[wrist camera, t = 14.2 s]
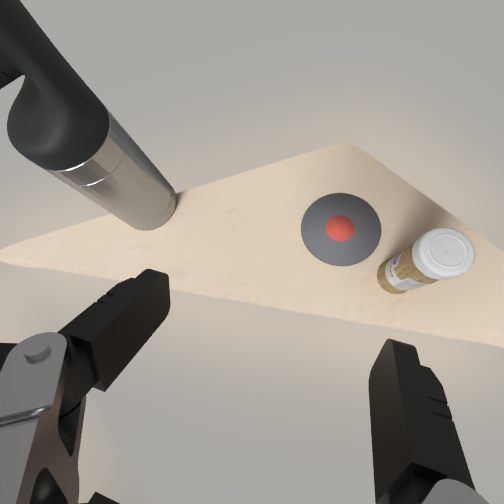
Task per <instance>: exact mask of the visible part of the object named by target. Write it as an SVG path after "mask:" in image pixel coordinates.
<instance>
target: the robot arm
mask: <svg viewBox="0 0 504 504" xmlns="http://www.w3.org/2000/svg"><path fill="white" fill-rule="evenodd" d="M21 75H25V79H24V83H23V85H22V88H21V90H20V92H19V94H18V95H17V97H16V99H15V101H14V103H13V105H12V107H11V110H10V112H9V115H8V121H7V132H8V136H9V139H10V141H11V143H12V145H13V146H14V147H15V148H16V150H18V152H19V153H21V154H22V155H23V156H25V157H26V158H27V159H29V160H30V161H32V162H34V163H35V164H37V165H38V166H40V167H41V168H43V169H44V170H46V171H47V172H49V173H51V174H52V175H54V176H55V177H57V178H58V179H60V180H61V181H63V182H64V183H66V184H68V185H69V186H71V187H72V188H74V189H75V190H77V191H78V192H80V193H81V194H83V195H84V196H86V197H88V198H89V199H91V200H92V201H94V202H95V203H97V204H98V205H100V206H101V207H103V208H104V209H106V210H107V211H109V212H110V213H112V214H113V215H115V216H116V217H118V218H119V219H121V220H122V221H124V222H126V223H127V224H129V225H130V226H132V227H134V228H135V229H138V230H153V229H155V228H158V227H160V226H161V225H163V224H164V223H165V222H166V221H168V220H169V218H170V217H171V216H172V214H173V212H174V210H175V206H176V194H175V191H174V189H173V188H172V186H171V185H170V184H169V183H168V182H167V180H166V179H165V178H164V177H163V175H162V174H161V173H160V172H159V170H157V168H156V167H155V166H154V165H153V163H152V162H151V161H150V160H149V159H148V157H147V156H146V155H145V154H144V152H143V151H142V150H141V149H140V148H139V146H138V145H137V144H136V143H135V142H134V140H133V139H132V138H131V137H130V136H129V135H128V133H127V132H126V131H125V130H124V128H123V127H122V126H121V125H120V124H119V123H118V122H117V120H116V119H115V118H114V117H113V116H112V114H111V113H110V112H109V111H108V109H107V108H106V107H105V106H104V105H103V103H102V102H101V101H100V100H99V99H98V98H97V96H96V95H95V94H94V93H93V92H92V91H91V89H89V87H88V86H87V85H86V84H85V82H84V81H83V80H82V79H81V78H80V77H79V75H78V74H77V73H76V72H75V71H74V69H73V68H72V67H71V66H70V65H69V63H68V62H67V61H66V60H65V58H64V57H63V56H62V55H61V54H60V52H59V51H58V50H57V49H56V48H55V46H54V45H53V43H52V42H51V41H50V40H49V38H48V37H47V36H46V34H45V33H44V32H43V31H42V29H41V28H40V27H39V25H38V24H37V23H36V21H35V20H34V19H33V17H32V16H31V15H30V13H29V12H28V11H27V9H26V8H25V7H24V6H23V4H22V3H21V1H20V0H0V89H1V88H3V87H4V86H6V85H7V84H9V83H11V82H12V81H14V80H15V79H17V78H18V77H20V76H21ZM169 291H170V290H169V277H168V275H167V274H166V273H162V272H159V271H155V270H152V269H146V270H144V271H143V272H142V273H141V274H140V275H138V276H137V277H136V278H135V279H134V278H129V279H127V280H125V281H123V282H121V283H118V284H117V285H115V286H114V287H113V288H112V289H110V290H109V291H108V292H107V293H106V295H103V296H102V297H101V298H99V299H98V300H97V302H94V303H93V304H92V305H91V306H89V307H88V308H87V309H86V310H84V311H83V312H82V313H81V314H80V315H78V316H77V317H76V318H75V319H73V320H72V321H71V322H70V323H68V324H67V325H66V326H65V327H63V328H62V329H61V330H60V331H59V332H57V333H54V332H48V333H41V334H37V335H34V336H32V337H29V338H27V339H25V340H23V341H22V342H20V343H19V344H17V343H16V344H15V343H0V504H78V499H79V473H78V456H79V449H80V442H81V434H82V427H83V420H84V412H85V405H86V394H87V393H88V392H89V391H90V389H91V388H92V387H94V388H97V389H99V390H101V391H104V392H105V391H106V390H107V389H108V387H109V386H110V385H111V384H112V383H113V381H114V380H115V379H116V378H117V377H118V375H119V374H120V373H121V372H122V371H123V369H124V368H125V367H126V366H127V365H128V363H129V362H130V361H131V360H132V358H133V357H134V356H135V355H136V354H137V352H138V351H139V350H140V349H141V347H142V346H143V345H144V344H145V343H146V342H147V340H148V339H149V338H150V337H151V336H152V334H153V333H154V332H155V331H156V329H157V328H158V327H159V326H160V325H161V323H162V322H163V321H164V320H165V318H166V316H167V315H168V312H169V309H170V292H169ZM369 401H370V418H371V435H372V451H373V467H374V484H375V500H376V504H489V503H488V502H487V501H486V500H485V499H484V498H483V497H482V496H481V495H479V494H478V493H477V492H476V490H475V487H474V485H473V482H472V479H471V476H470V472H469V469H468V466H467V463H466V460H465V457H464V453H463V450H462V447H461V444H460V441H459V437H458V435H457V431H456V428H455V425H454V422H453V421H452V415H451V412H450V409H449V406H447V403H448V402H447V399H446V396H445V393H444V389H443V386H442V384H441V383H440V382H439V380H438V379H437V377H436V376H435V374H434V373H433V372H432V370H431V369H430V368H428V367H425V366H422V365H420V362H419V358H418V354H417V350H416V348H415V346H413V345H410V344H406V343H402V342H399V341H396V340H392V339H387V340H386V342H385V344H384V345H383V347H382V349H381V351H380V353H379V355H378V357H377V359H376V361H375V363H374V365H373V367H372V369H371V372H370V377H369ZM80 504H119V503H117V502H115V501H113V500H111V499H109V498H107V497H105V496H103V495H101V494H99V493H97V492H95V493H94V495H93V496H92V498H91V499H90V501H89V502H88V503H80Z"/></svg>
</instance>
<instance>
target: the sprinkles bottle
mask: <svg viewBox="0 0 504 504" xmlns="http://www.w3.org/2000/svg"><path fill="white" fill-rule="evenodd" d="M474 259H475V251H474V247H473V245H472V243H471V241H470V240H469V239H468V238H467V237H466V236H465V235H464V234H463V233H461V232H459V231H458V230H455V229H452V228H446V227H441V228H435V229H432V230H430V231H428V232H427V233H425V234H423V235H422V236H421V237H419V238H418V239H417V240H416V242H415V243H414V244H413V245H412V246H410V247H409V248H407V249H405V250H403V251H402V252H400V253H399V254H398V255H396V256H395V257H393V258H392V259H390V260H389V261H387V262H385V263H384V264H382V265H381V266H380V268H379V270H378V273H377V278H378V282H379V284H380V285H381V287H382V288H383V289H384V290H386V291H388V292H389V293H393V294H401V293H404V292H406V291H408V290H412V289H416V288H419V287H422V286H425V285H428V284H431V283H434V282H436V281H438V280H445V279H450V278H453V277H456V276H459V275H461V274H463V273H465V272H466V271H468V270H469V269H470V268H471V266H472V264H473V262H474Z"/></svg>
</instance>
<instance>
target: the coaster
mask: <svg viewBox="0 0 504 504" xmlns="http://www.w3.org/2000/svg"><path fill="white" fill-rule="evenodd" d="M301 233H302V238H303V241H304V243H305V245H306V247H307V248H308V250H309V251H310V252H311V253H312V254H313V255H314V256H315V257H316V258H318V259H319V260H321V261H323V262H325V263H327V264H331V265H335V266H349V265H354V264H357V263H359V262H361V261H363V260H365V259H366V258H368V257H369V256H370V255H371V254H372V253H373V252H374V250H375V249H376V247H377V245H378V243H379V240H380V236H381V226H380V221H379V218H378V216H377V214H376V213H375V211H374V210H373V208H372V207H371V206H370V205H369V204H368V203H366V202H365V201H364V200H362V199H360V198H358V197H356V196H353V195H349V194H331V195H327V196H324V197H322V198H320V199H318V200H317V201H315V202H314V203H313V204H312V205H311V206H310V207H309V208H308V209H307V211H306V212H305V214H304V217H303V219H302V224H301Z"/></svg>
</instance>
